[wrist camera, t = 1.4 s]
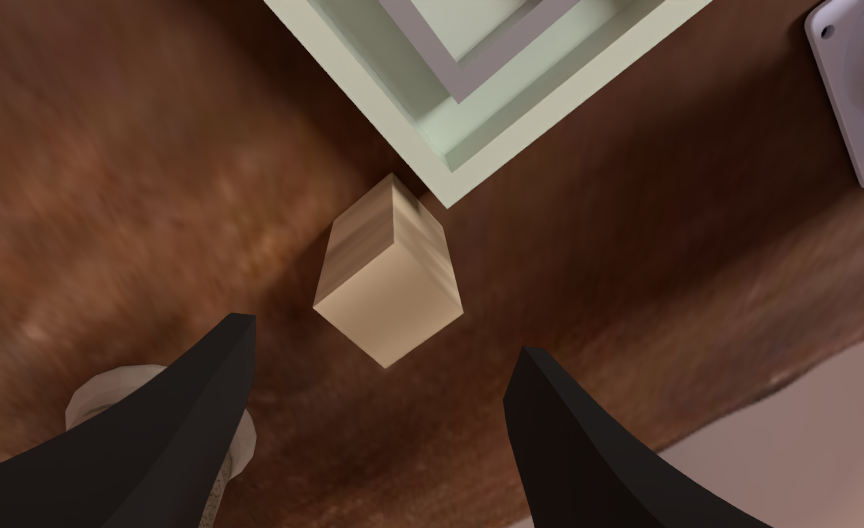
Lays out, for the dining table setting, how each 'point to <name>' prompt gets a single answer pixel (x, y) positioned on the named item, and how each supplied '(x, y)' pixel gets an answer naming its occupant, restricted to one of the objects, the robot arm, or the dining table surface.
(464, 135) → the square tray
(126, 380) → the mug
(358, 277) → the tan wooden block
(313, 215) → the dining table surface
